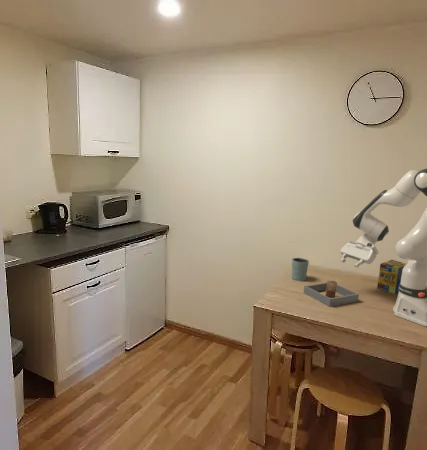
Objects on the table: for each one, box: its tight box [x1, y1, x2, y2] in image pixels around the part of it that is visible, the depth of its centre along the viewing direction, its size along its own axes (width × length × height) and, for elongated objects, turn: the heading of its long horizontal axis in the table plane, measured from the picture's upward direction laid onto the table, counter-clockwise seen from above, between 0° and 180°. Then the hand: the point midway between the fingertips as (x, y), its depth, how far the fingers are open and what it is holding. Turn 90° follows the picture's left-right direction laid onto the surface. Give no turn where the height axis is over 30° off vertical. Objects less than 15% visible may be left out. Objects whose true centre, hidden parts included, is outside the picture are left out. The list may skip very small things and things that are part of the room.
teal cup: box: [291, 257, 310, 282], centre depth 225 cm, size 10×10×12 cm
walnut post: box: [325, 280, 338, 298], centre depth 197 cm, size 5×5×8 cm
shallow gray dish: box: [303, 282, 360, 307], centre depth 198 cm, size 20×20×4 cm
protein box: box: [376, 259, 407, 295], centre depth 214 cm, size 10×15×16 cm
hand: (348, 264), depth 200 cm, fingers open, 8 cm apart
